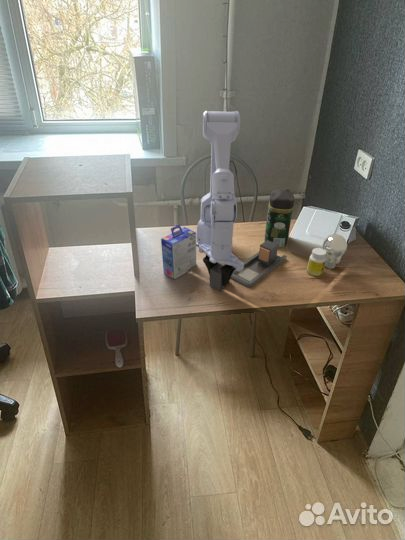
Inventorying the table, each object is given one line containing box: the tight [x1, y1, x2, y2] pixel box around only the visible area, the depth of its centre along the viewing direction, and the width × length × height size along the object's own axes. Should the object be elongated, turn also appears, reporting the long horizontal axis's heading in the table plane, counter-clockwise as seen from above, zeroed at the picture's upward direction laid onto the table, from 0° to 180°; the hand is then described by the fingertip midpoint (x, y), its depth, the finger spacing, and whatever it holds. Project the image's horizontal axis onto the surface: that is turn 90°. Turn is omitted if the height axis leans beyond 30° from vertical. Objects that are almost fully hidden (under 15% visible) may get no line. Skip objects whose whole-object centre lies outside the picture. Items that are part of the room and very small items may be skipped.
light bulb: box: [322, 233, 348, 270], centre depth 119 cm, size 7×7×12 cm
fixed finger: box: [258, 240, 279, 266], centre depth 122 cm, size 4×5×6 cm
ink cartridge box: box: [160, 224, 197, 280], centre depth 116 cm, size 10×6×14 cm, turn 137°
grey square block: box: [209, 263, 225, 292], centre depth 113 cm, size 4×5×6 cm
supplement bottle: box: [306, 247, 326, 277], centre depth 118 cm, size 5×5×8 cm
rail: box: [230, 251, 287, 289], centre depth 120 cm, size 8×20×2 cm, turn 139°
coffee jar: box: [264, 187, 295, 248], centre depth 130 cm, size 10×8×19 cm
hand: (219, 280), depth 114 cm, fingers closed on grey square block, 4 cm apart
